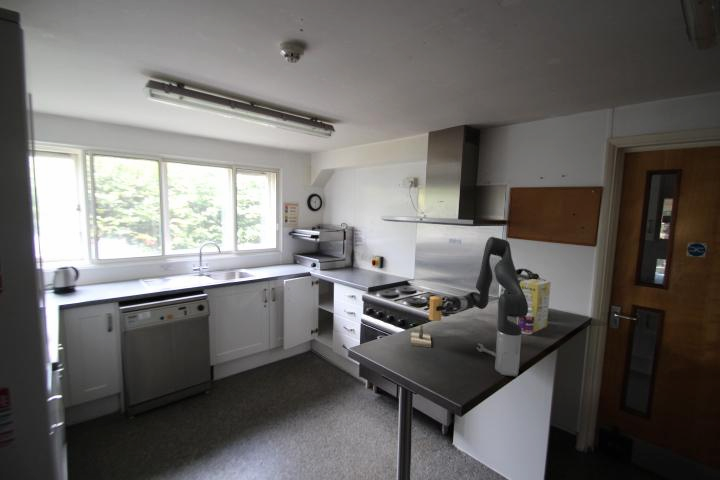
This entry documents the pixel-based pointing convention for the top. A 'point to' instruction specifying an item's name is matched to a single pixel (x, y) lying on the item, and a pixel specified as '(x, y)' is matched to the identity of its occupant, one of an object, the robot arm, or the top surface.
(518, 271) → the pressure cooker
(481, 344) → the combination wrench
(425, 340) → the post board
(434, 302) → the octagonal lidded canister
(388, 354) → the top surface
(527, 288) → the pasta box
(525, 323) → the pill bottle
